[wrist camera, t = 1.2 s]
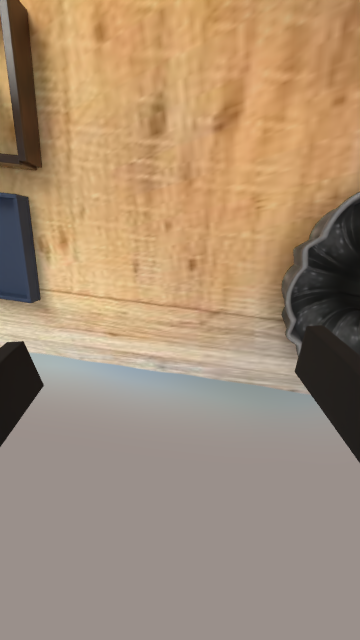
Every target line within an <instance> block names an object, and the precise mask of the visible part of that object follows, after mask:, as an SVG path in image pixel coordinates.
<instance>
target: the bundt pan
mask: <svg viewBox="0 0 360 640" xmlns="http://www.w3.org/2000/svg"><path fill="white" fill-rule="evenodd" d="M293 256H294V265H293V266H292V267H290V268H289V270H288V271H287V272H286V274H285V276H284V278H283V281H282V294H283V298H284V301H285V307H284V309H283V311H282V317H283V320H284V323H285V325H286V328H287V329H286V332H285V335H286V337H287V339H289V340H290V341H291V342H293V343H294V344H295V345H296V349H297V354H298V357H299V353H300V350H301V346H302V342H303V338H304V334H305V330H306V326H316V325H324V326H325V327H326V328H327V329H328V330H330V331H331V332H332V333H333V334H335V335H336V336H337V337H338V338H339V339H341V340H342V341H343V342H344V343H345V344H347V345H348V346H349V347H350V348H352V349H353V350H354V351H355V352H356V353H358V354H359V355H360V192H358V193H356V194H355V195H353V196H351V197H350V198H348V199H347V200H346V201H344V202H343V203H342V204H341V205H340V206H339V207H338V208H336V209H334V210H332V211H330V212H329V213H327V214H326V215H324V216H323V217H322V218H321V219H320V220H319V221H318V222H317V224H316V225H315V226H314V228H313V230H312V232H311V234H310V237H309V240H308V241H306V242H304V243H302V244H300V245H299V246H297V247H295V248H294V249H293Z"/></svg>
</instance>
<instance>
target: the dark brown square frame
mask: <svg viewBox="0 0 360 640" xmlns="http://www.w3.org/2000/svg"><path fill="white" fill-rule="evenodd" d="M0 16H1V24H2V32H3V40H4V48H5V56H6V64H7V71H8V79H9V87H10V95H11V103H12V111H13V119H14V126H15V134H16V142H17V150H18V155H10V154H1V153H0V166H2V167H12V168H21V169H30V170H37V167H42V163H41V152H40V142H39V132H38V121H37V111H36V100H35V90H34V79H33V69H32V59H31V48H30V38H29V27H28V17H27V10H26V9H25V7H24V6H23V5H22V4H21V2H20V1H19V0H0Z"/></svg>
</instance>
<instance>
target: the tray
mask: <svg viewBox="0 0 360 640" xmlns="http://www.w3.org/2000/svg"><path fill="white" fill-rule="evenodd" d="M0 299H6V300H13V301H20V302H27V303H33V302H35V301H38V300H40V292H39V283H38V275H37V267H36V259H35V250H34V242H33V234H32V225H31V217H30V209H29V200H28V197H26V196H21V195H17V194H9V193H1V192H0Z"/></svg>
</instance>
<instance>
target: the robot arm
mask: <svg viewBox="0 0 360 640" xmlns="http://www.w3.org/2000/svg"><path fill="white" fill-rule="evenodd" d="M295 373H296V374H297V376H298V377H299V378H300V380H301V381H302V383H303V384H304V385H305V387H306V388H307V390H308V391H309V392H310V394H311V395H312V397H313V398H314V399H315V401H316V402H317V404H318V405H319V406H320V408H321V409H322V410H323V412H324V413H325V415H326V416H327V418H328V419H329V420H330V422H331V423H332V425H333V426H334V427H335V429H336V430H337V432H338V433H339V434H340V436H341V437H342V439H343V440H344V441H345V443H346V444H347V446H348V447H349V448H350V450H351V451H352V453H353V454H354V455H355V457H356V458H357V460H358V461H359V462H360V355H359V354H358V353H356V352H355V351H354V350H353V349H352V348H350V347H349V346H348V345H347V344H345V343H344V342H343V341H342V340H341V339H339V338H338V337H337V336H336V335H335V334H333V333H332V332H331V331H330V330H328V329H327V328H326V327H325V326H324V325H316V326H306V330H305V334H304V338H303V342H302V346H301V350H300V353H299V357H298V361H297V365H296V369H295ZM42 387H43V383H42V381H41V379H40V376H39V374H38V372H37V370H36V368H35V365H34V363H33V361H32V359H31V357H30V354H29V352H28V350H27V348H26V346H25V344H24V341H22V342H7V343H6V344H4V345H3V346H2V347H1V348H0V446H1V445H2V444H3V442H4V441H5V440H6V438H7V437H8V435H9V434H10V432H11V431H12V430H13V428H14V427H15V425H16V424H17V423H18V421H19V420H20V418H21V417H22V415H23V414H24V412H25V411H26V410H27V408H28V407H29V406H30V404H31V403H32V401H33V400H34V399H35V397H36V396H37V394H38V393H39V391H40V390H41V389H42Z"/></svg>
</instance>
